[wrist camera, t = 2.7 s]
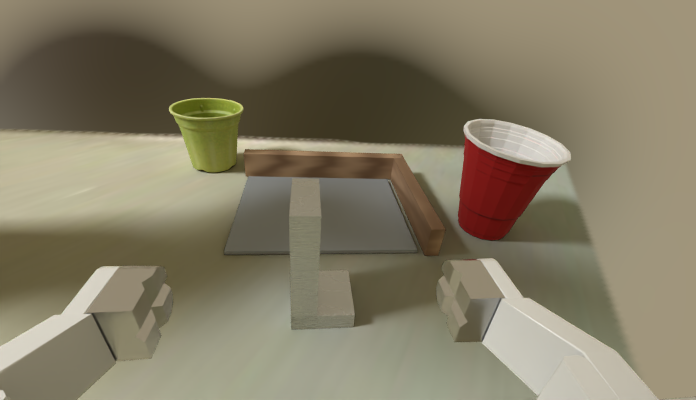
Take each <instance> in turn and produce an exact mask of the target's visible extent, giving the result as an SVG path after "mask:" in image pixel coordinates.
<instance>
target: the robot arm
mask: <svg viewBox="0 0 696 400" xmlns="http://www.w3.org/2000/svg"><path fill="white" fill-rule="evenodd" d="M441 270H442V272H443V274H444V276H443V277H441V278H440V279H439V280H438V283H437V287H436V297H437V301H438V305H439V307H440V310H441V311H442V312H443V313H444V314H446V315H447V316H448V319H447V322H446V324H447V326H448V328H449V331H450V333H451V335H452V338H453V340H454V342H482V344H483V345H484V346H486V347H487V348H488V349H489V350H490V351H491V352H492V353H493V354H494V355H495V356H496V357H497V358H498V359H499V360H500V361H501V362H503V363H504V364H505V365H506V366H507V367H508V368H509V369H510V370H511V371H512V372H513V373H514V374H515V375H516V376H517V377H518V378H520V379H521V380H522V381H523V382H524V383H525V384H526V385H527V386H528V387H529V388H530V389H531V390H532V391H533V392H534V393H535V394H537V395H538V396H537V398H536V399H535V400H659V399H658V398H657V397H656V396H655V395H654V393H653V392H652V391H651V390H650V389H649V388H648V387H647V385H646V384H645V383H644V382H643V381H642V380H641V379H640V377H639V376H638V375H637V374H636V373H635V372H634V371H633V369H632V368H631V367H630V366H629V365H628V364H627V363H626V361H625V360H624V359H623V358H622V357H621V356H620V355H619V353H618V352H617V351H615V350H613V349H612V348H610V347H608V346H607V345H605V344H603V343H602V342H600V341H599V340H597V339H595V338H594V337H592V336H590V335H589V334H587V333H585V332H584V331H582V330H581V329H579V328H577V327H576V326H574V325H572V324H571V323H569V322H567V321H566V320H564V319H563V318H561V317H559V316H558V315H556V314H554V313H553V312H551V311H549V310H548V309H546V308H545V307H543V306H541V305H540V304H538V303H536V302H535V301H533V300H531V299H530V298H524V297H523V296H522V295H521V293H520V292H519V291H518V289H517V288H516V286H515V285H514V284H513V282H512V281H511V280H510V278H509V277H508V276H507V274H506V273H505V271H504V270H503V269H502V267H501V266H500V265H499V263H498V262H497V261H496V260H495V259H493V258H488V259H463V260H445V262H444V263H443V266H442V269H441ZM166 278H167V274H166V271H165V268H164V267H162V266H102V267H100V268H98V269H97V270H96V271H95V272H94V273H93V275H92V276H91V277H90V278H89V280H88V281H87V282H86V283H85V285H84V286H83V287H82V288H81V290H80V291H79V292H78V293H77V295H76V296H75V297H74V299H73V300H72V301H71V302H70V304H69V305H68V306H67V307H66V309H65V310H64V311H63V312H62V314H61V315H53V316H51V317H50V318H48V319H46V320H45V321H43V322H41V323H40V324H38V325H36V326H34V327H33V328H31V329H29V330H28V331H26V332H24V333H23V334H21V335H19V336H17V337H16V338H14V339H12V340H11V341H9V342H7V343H5V344H4V345H2V346H0V400H77V399H78V398H79V397H80V396H81V395H82V394H83V393H85V392H86V391H87V390H88V389H89V388H90V387H91V386H92V385H93V384H94V383H95V382H96V381H97V380H99V379H100V378H101V377H102V376H103V375H104V374H105V373H106V372H107V371H108V370H109V369H110V368H111V367H112V366H114V365H115V364H116V361H125V360H137V359H150V358H152V356H153V354H154V351H155V349H156V347H157V345H158V342H159V340H160V338H161V333H160V330H159V328H160V327H162V326H163V325H164V324H165V323H167V322H168V319H169V317H170V315H171V311H172V306H173V294H172V290H171V288H170V287H169V286H168V285H166V284H165V283H164V282H165V280H166ZM660 400H696V397H685V398H672V399H660Z"/></svg>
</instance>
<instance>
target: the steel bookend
mask: <svg viewBox="0 0 696 400" xmlns="http://www.w3.org/2000/svg"><path fill="white" fill-rule="evenodd" d="M289 236H290V287H291V329H316V328H341V327H353V325H354V318H355V312H354V305H353V298H352V292H351V285H350V278H349V271H348V270H326V271H319V259H320V236H321V203H320V187H319V179H309V178H292V188H291V200H290V212H289Z"/></svg>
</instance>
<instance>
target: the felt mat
mask: <svg viewBox="0 0 696 400" xmlns="http://www.w3.org/2000/svg"><path fill="white" fill-rule="evenodd" d="M292 178H308V177H259V176H248V179H247V182H246V185H245V188H244V191H243V194H242V197H241V200H240V204H239V207H238V210H237V213H236V216H235V219H234V222H233V225H232V228H231V231H230V234H229V237H228V240H227V243H226V246H225V249H224V255H228V254H290V236H289V212H290V200H291V188H292ZM309 179H319V187H320V203H321V236H320V254H330V253H417V248H416V245H415V243H414V241H413V239H412V236H411V234H410V232H409V229H408V227H407V225H406V222H405V220H404V218H403V215H402V213H401V211H400V208H399V206H398V204H397V201H396V199H395V197H394V194H393V192H392V190H391V187H390V185H389V183H388V180H387V179H358V178H309Z"/></svg>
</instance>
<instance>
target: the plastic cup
mask: <svg viewBox="0 0 696 400" xmlns="http://www.w3.org/2000/svg"><path fill="white" fill-rule="evenodd" d="M464 132H465V144H464V145H465V149H464V162H463V171H462V179H461V187H460V195H459V197H460V203H459V211H458V217H459V219H458V221H459V225H460V226H461V227H462V228H463V230H464V231H466V232H467V233H469V234H471V235H472V236H475V237H478V238H480V239H485V240H499V239H501V238H503V237H504V236H505V235H506V234H507V233H508V232H509V231H510V229H511V228H512V226H513V225H514V223H515V222H516V220H517V219H518V217H520V216H521V214H522V213H523V212H524V210H525V209H526V207H527V206H528V205H529V203H530V202H531V200H532V199H533V198H534V196H535V195H536V193H537V192H538V191H539V189H540V188H541V186H542V185H543V184H544V182H545V181H546V180H548V178H549V177H550V176H551V175H552V173H554V172H555V171H556V170H557V169H558V168H559V167H560V166H562V165H564V164H566V163H568V162H569V161H570V160H571V155H570V152H569V151H568V150H567V149H566V148H565V147H564V146H563V145H562V144H561V143H559V142H557V141H556V140H554V139H552V138H551V137H549V136H547V135H545V134H542V133H540V132H538V131H535V130H533V129H530V128H527V127H523V126H520V125H517V124H513V123H509V122H504V121H498V120H486V119H477V120H472V121H468V122H467V123H466V124H465V126H464Z"/></svg>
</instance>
